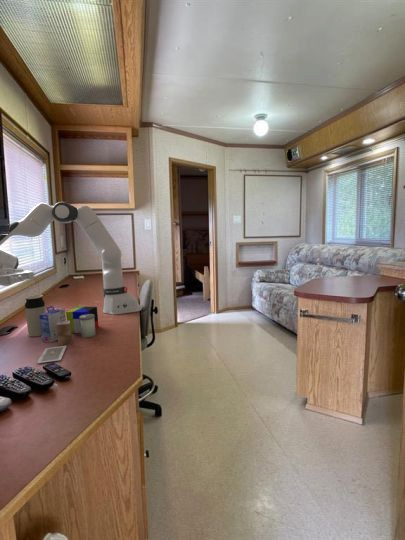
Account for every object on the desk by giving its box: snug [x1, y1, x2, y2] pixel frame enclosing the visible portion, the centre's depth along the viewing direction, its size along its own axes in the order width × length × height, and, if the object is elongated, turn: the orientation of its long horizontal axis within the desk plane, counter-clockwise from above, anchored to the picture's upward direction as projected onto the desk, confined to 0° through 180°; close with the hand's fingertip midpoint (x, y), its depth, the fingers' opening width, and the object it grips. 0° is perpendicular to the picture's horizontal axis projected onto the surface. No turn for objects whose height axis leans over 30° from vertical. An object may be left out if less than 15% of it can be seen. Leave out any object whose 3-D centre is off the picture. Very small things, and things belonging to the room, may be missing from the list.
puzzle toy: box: [65, 306, 99, 334], centre depth 149 cm, size 10×10×10 cm
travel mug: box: [24, 294, 46, 337], centre depth 144 cm, size 8×8×18 cm
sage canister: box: [79, 314, 96, 338], centre depth 140 cm, size 6×6×9 cm
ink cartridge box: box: [39, 305, 67, 343], centre depth 137 cm, size 10×6×14 cm, turn 161°
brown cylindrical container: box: [56, 320, 73, 347], centre depth 131 cm, size 5×5×9 cm
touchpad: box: [36, 345, 67, 364], centre depth 119 cm, size 8×15×2 cm, turn 16°
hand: (19, 278), depth 149 cm, fingers closed
